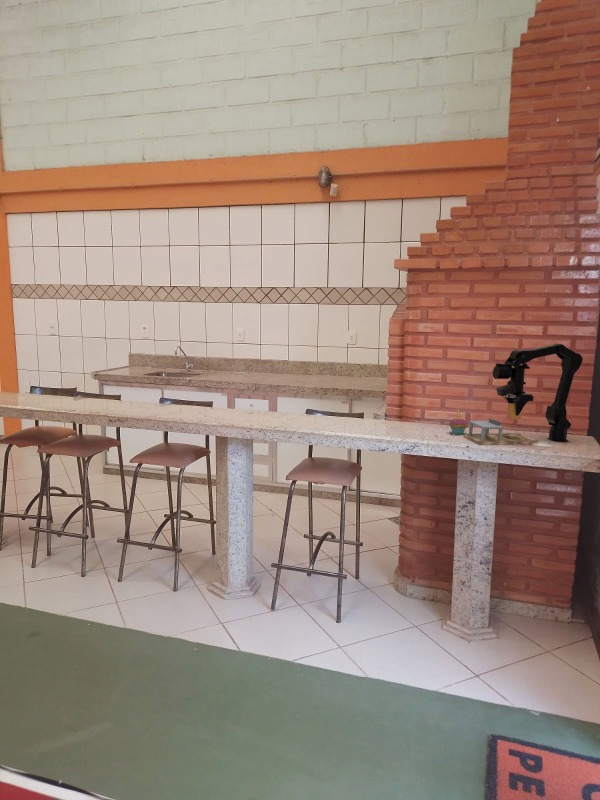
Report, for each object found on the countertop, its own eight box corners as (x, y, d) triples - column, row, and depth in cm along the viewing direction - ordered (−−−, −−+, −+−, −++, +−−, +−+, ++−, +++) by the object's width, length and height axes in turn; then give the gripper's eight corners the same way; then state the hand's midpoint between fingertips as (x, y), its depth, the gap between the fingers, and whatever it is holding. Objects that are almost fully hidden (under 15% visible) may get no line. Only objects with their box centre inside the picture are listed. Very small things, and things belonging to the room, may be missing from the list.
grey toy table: (487, 433, 258) (488, 417, 257) (502, 440, 244) (503, 423, 243) (468, 434, 257) (469, 417, 256) (482, 440, 243) (483, 423, 242)
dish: (545, 442, 250) (546, 441, 250) (557, 447, 241) (558, 445, 241) (526, 443, 249) (526, 441, 249) (538, 447, 240) (538, 446, 240)
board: (519, 437, 262) (519, 433, 261) (538, 444, 246) (539, 440, 246) (463, 437, 258) (463, 433, 258) (479, 445, 242) (479, 441, 242)
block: (516, 417, 254) (517, 402, 253) (521, 419, 249) (522, 404, 248) (506, 417, 253) (507, 402, 252) (511, 419, 249) (512, 404, 248)
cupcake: (446, 432, 270) (447, 406, 268) (463, 432, 270) (465, 407, 269) (452, 435, 261) (453, 409, 259) (470, 435, 262) (472, 410, 260)
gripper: (489, 376, 257) (487, 411, 259) (510, 381, 238) (507, 418, 241) (512, 376, 258) (510, 411, 260) (535, 381, 240) (532, 418, 242)
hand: (514, 414), depth 251 cm, fingers closed on block, 4 cm apart
